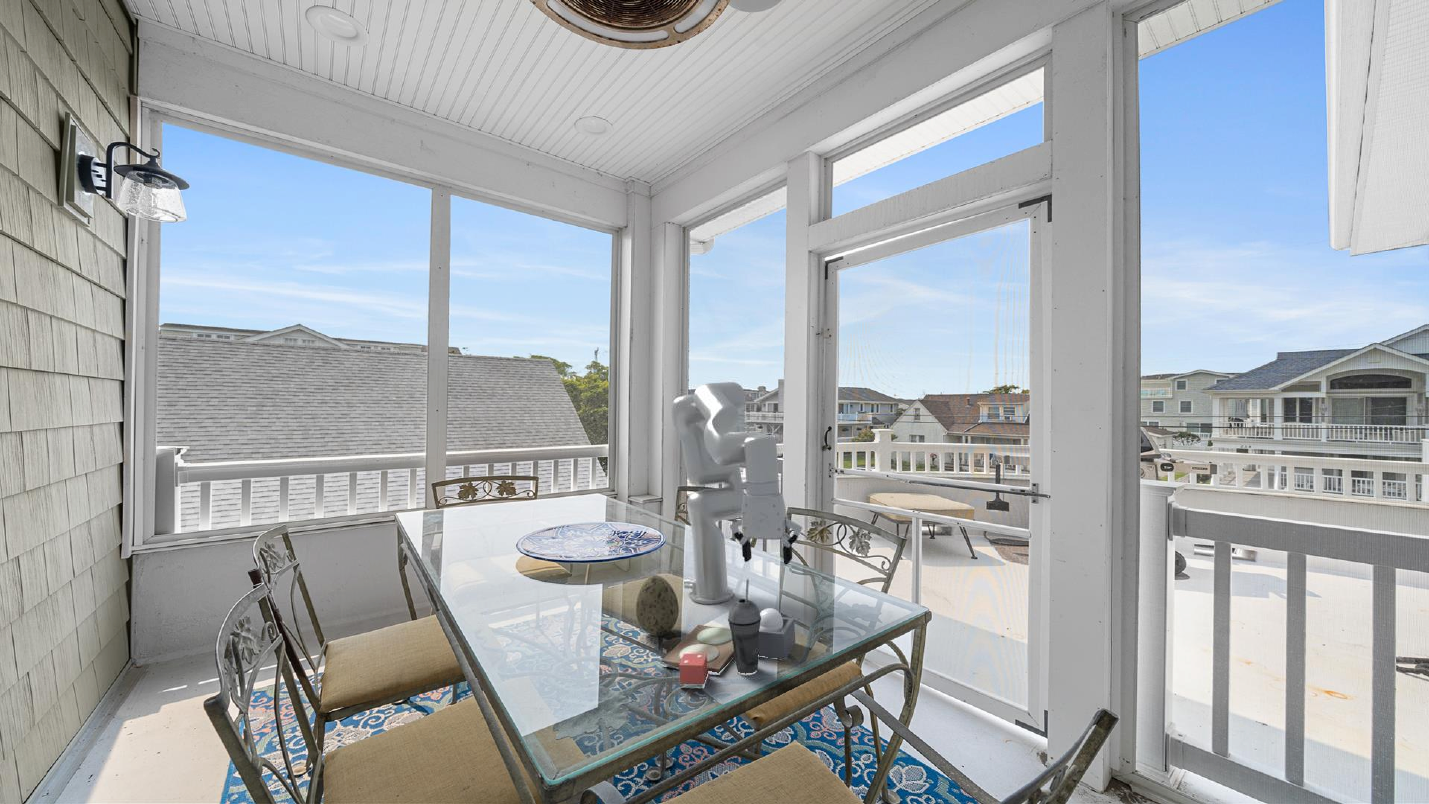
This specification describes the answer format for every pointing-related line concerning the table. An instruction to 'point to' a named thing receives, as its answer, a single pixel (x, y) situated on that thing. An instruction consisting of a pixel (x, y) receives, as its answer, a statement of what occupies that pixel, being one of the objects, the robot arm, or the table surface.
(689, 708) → the table surface
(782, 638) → the housing
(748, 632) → the beverage cup
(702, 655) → the die
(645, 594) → the decorative egg
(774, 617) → the white ball
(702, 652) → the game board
